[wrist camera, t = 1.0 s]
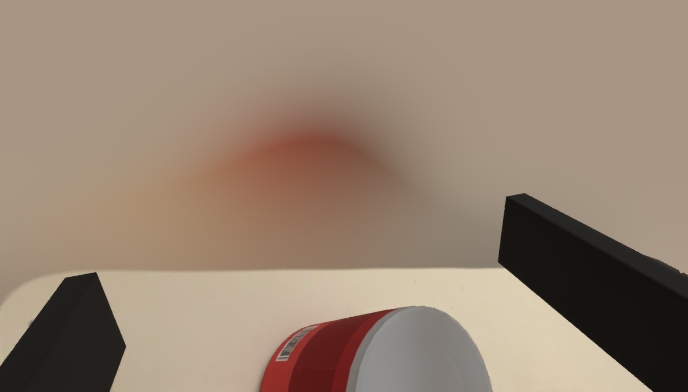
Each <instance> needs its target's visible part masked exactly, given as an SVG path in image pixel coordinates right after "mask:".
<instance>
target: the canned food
mask: <svg viewBox="0 0 688 392" xmlns="http://www.w3.org/2000/svg"><path fill="white" fill-rule="evenodd" d="M260 392H492V387H491V383H490V378H489V375H488V372H487V369H486V366H485V363H484V360H483V358H482V356H481V354H480V352H479V350H478V348H477V346H476V344H475V343H474V341H473V340H472V338H471V337H470V335H469V334H468V332H467V331H466V330H465V329H464V328H463V327H462V326H461V325H460V324H459V323H458V322H457V321H456V320H455V319H453V318H452V317H451V316H449V315H448V314H447V313H444V312H442V311H440V310H438V309H436V308H431V307H425V306H418V307H417V306H411V307H401V308H396V309H390V310H384V311H379V312H374V313H369V314H364V315H359V316H354V317H349V318H344V319H340V320H335V321H330V322H325V323H320V324H315V325H310V326H308V327H305V328H302V329H300V330H298V331H297V332H295V333H294V334H292V335H291V336H290V337H288V338H287V339H286V340H285V341H284V342H283V343H282V344H281V346H280V347H279V348H278V350H277V351H276V352H275V354H274V355H273V356H272V358H271V360H270V362H269V364H268V366H267V368H266V371H265V374H264V377H263V380H262V384H261V391H260Z"/></svg>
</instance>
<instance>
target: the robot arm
mask: <svg viewBox="0 0 688 392" xmlns="http://www.w3.org/2000/svg"><path fill="white" fill-rule="evenodd" d="M498 262H499V263H500V264H501V265H502V266H503V267H505V268H506V269H507V270H508V271H509V272H511V273H512V274H513V275H514V276H515V277H517V278H518V279H519V280H520V281H521V282H522V283H524V284H525V285H526V286H527V287H528V288H530V289H531V290H532V291H533V292H534V293H536V294H537V295H538V296H539V297H540V298H542V299H543V300H544V301H545V302H546V303H548V304H549V305H550V306H551V307H552V308H554V309H555V310H556V311H557V312H558V313H560V314H561V315H562V316H563V317H564V318H566V319H567V320H568V321H569V322H570V323H572V324H573V325H574V326H575V327H576V328H578V329H579V330H580V331H581V332H582V333H584V334H585V335H586V336H587V337H588V338H590V339H591V340H592V341H593V342H594V343H596V344H597V345H598V346H599V347H600V348H601V349H603V350H604V351H605V352H606V353H607V354H609V355H610V356H611V357H612V358H613V359H615V360H616V361H617V362H618V363H619V364H621V365H622V366H623V367H624V368H625V369H627V370H628V371H629V372H630V373H631V374H633V375H634V376H635V377H636V378H637V379H639V380H640V381H641V382H642V383H643V384H645V385H646V386H647V387H648V388H649V389H651V390H652V391H653V392H688V275H687V274H685V273H680V272H679V270H677V269H675V268H673V267H671V266H669V265H667V264H665V263H663V262H661V261H659V260H657V259H654V258H651V257H648V256H645V255H643V254H641V253H639V252H637V251H635V250H633V249H631V248H629V247H627V246H625V245H623V244H622V243H620V242H618V241H615V240H614V239H612V238H610V237H608V236H606V235H604V234H602V233H600V232H598V231H596V230H594V229H592V228H591V227H589V226H587V225H585V224H583V223H581V222H579V221H577V220H575V219H573V218H571V217H569V216H568V215H565V214H564V213H562V212H560V211H558V210H556V209H554V208H552V207H550V206H548V205H546V204H544V203H543V202H541V201H539V200H537V199H535V198H533V197H531V196H529V195H527V194H525V193H523V194H518V195H512V196H507V197H506V202H505V210H504V218H503V225H502V233H501V241H500V249H499V257H498ZM125 348H126V345H125V342H124V340H123V337H122V335H121V332H120V330H119V327H118V325H117V322H116V320H115V318H114V315H113V313H112V310H111V308H110V305H109V303H108V300H107V298H106V295H105V293H104V290H103V288H102V285H101V283H100V280H99V278H98V275H97V273H96V272H94V273H88V274H83V275H78V276H72V277H67V278H65V279H64V280H63V281H62V283H61V284H60V285H59V287H58V288H57V290H56V291H55V292H54V294H53V295H52V296H51V298H50V299H49V300H48V302H47V303H46V305H45V306H44V307H43V309H42V310H41V311H40V313H39V314H38V315H37V317H36V318H35V320H34V321H33V322H32V324H31V325H30V326H29V328H28V329H27V330H26V332H25V333H24V335H23V336H22V337H21V339H20V340H19V341H18V343H17V344H16V345H15V347H14V348H13V350H12V351H11V352H10V354H9V355H8V356H7V358H6V359H5V360H4V362H3V363H2V365H1V366H0V392H110V389H111V386H112V384H113V381H114V378H115V376H116V373H117V370H118V367H119V365H120V362H121V359H122V356H123V354H124V351H125Z"/></svg>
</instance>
